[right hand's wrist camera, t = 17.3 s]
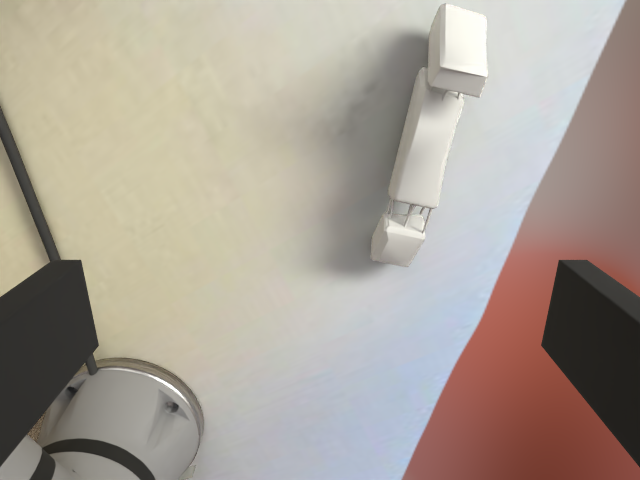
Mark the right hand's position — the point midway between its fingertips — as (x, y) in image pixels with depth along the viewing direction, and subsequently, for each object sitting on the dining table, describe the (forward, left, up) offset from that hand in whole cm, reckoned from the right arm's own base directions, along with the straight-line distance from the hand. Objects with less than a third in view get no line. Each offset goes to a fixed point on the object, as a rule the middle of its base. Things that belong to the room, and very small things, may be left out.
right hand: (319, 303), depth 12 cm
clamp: (-2, +8, -26) cm, 27 cm away
